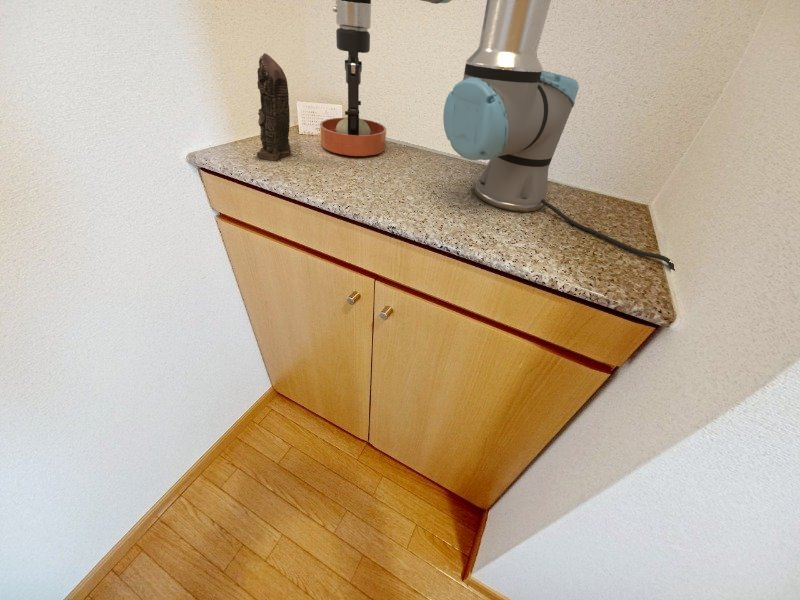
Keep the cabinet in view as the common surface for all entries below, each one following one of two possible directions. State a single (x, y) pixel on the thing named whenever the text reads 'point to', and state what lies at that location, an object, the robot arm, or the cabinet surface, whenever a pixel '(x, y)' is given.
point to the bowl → (352, 139)
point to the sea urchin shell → (343, 127)
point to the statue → (273, 110)
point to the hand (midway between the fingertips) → (353, 137)
